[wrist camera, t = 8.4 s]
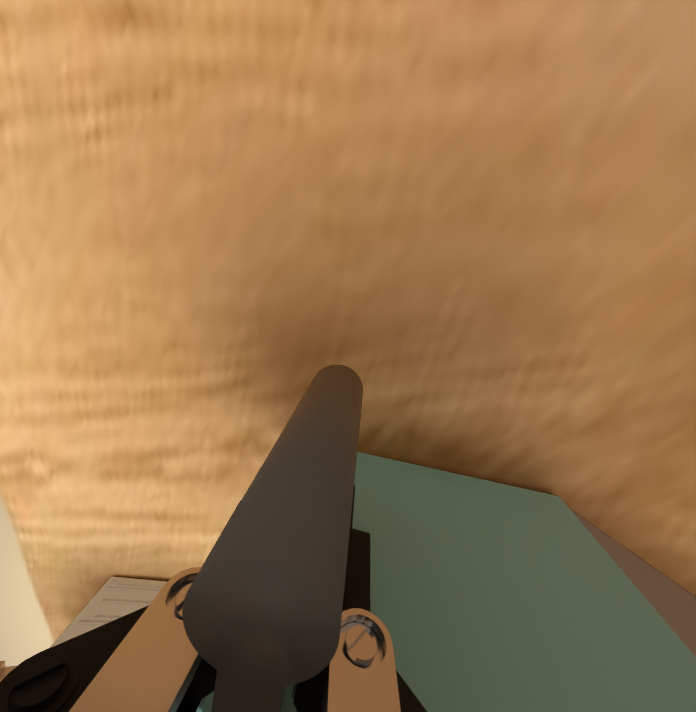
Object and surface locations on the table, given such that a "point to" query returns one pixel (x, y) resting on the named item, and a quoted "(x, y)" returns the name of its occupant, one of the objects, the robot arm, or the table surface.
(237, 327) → the table surface
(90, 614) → the supplement box
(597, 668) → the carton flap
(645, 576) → the carton
